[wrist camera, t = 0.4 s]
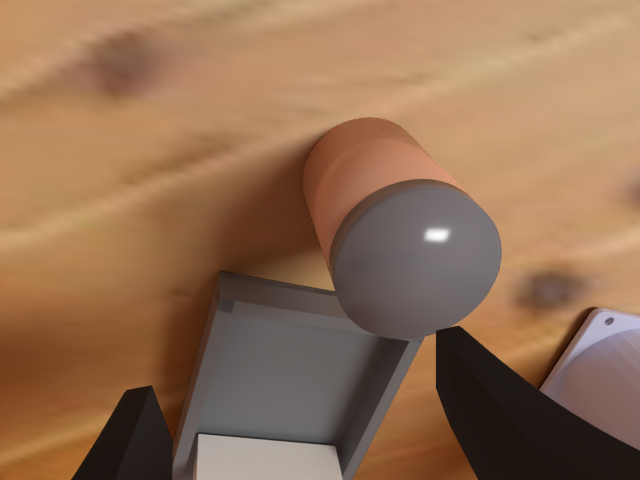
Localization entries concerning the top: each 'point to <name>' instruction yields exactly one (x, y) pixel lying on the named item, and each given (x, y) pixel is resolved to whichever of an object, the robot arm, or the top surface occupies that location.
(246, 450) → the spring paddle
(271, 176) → the top surface
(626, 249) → the top surface
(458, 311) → the jar
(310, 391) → the tray
